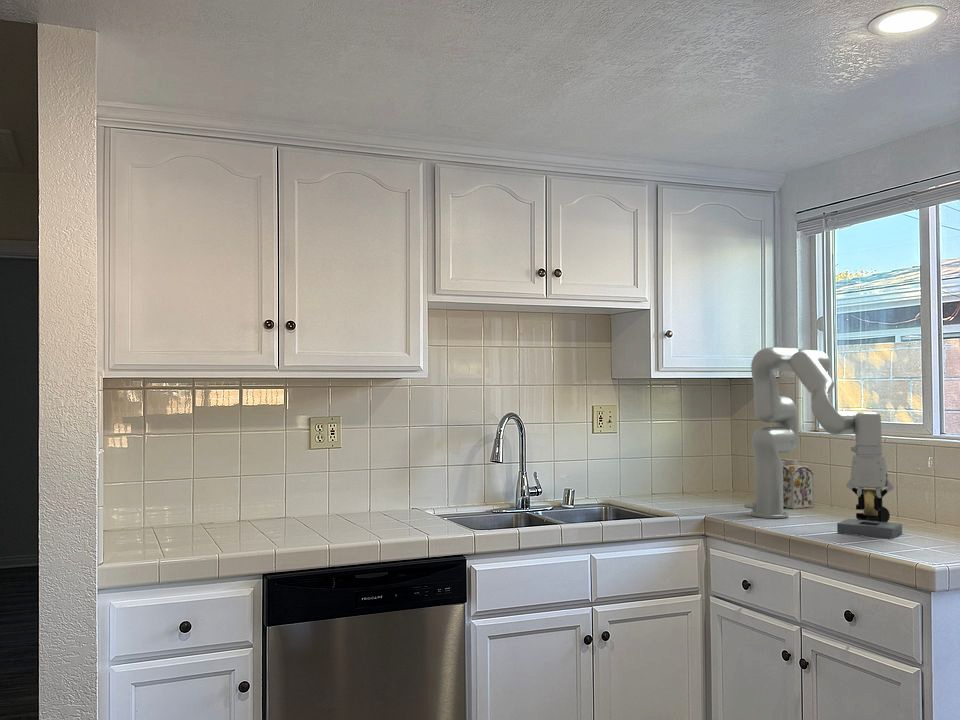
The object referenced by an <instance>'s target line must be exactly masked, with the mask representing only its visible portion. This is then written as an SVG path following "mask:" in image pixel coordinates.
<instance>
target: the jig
mask: <svg viewBox="0 0 960 720" xmlns="http://www.w3.org/2000/svg"><path fill="white" fill-rule="evenodd" d="M836 526H837V528H836V529H837V531H836V532H838V533H837V534H843V533H847V534H846V535H852V534H857V535H856V536H861V535H864V536H863V537H871V536H873V538H880V537H883V539H890V538H893V539H895V538H896V536H897V537H898V536H900V535H903V523H900V522H899V523H898V522H897V523H896V522H889V521H888V522H879V521H868V520H858V519H857V518H855V519H854V518H847V519H844V520H842V521H840V522H838V523H837V524H836ZM894 537H895V538H894Z"/></svg>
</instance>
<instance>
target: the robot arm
mask: <svg viewBox="0 0 960 720" xmlns="http://www.w3.org/2000/svg"><path fill="white" fill-rule="evenodd" d="M750 365H751V367H750V368H751V370H750V371H751V377H752V383H753V404H754V405H753V406H754V415H755V418H756V419H757V421H759V422H761V423H767V424H773V423H774V426H761V427H759V428H757V429H756V430H755V431H754V432H753V434H752V436H751V447H752V452H753V459H754V499H755V501H754V502H744V504H743V505H744V508H745V509H751V510H752V511H750V516H751V517H756V518H763V519H785V517H786V518H788V517H789V513H788V512H785V511H784V508H783V461H782V458H781V457H780V454H784V453H791V452H793V451H794V450H795V449H796V448H797V446H798V443H799V421H798V418H799V417H798V408H797V406H796V403H795V402H794V401H793V399H791V398H790V397H788V396H785V395H780V392H779V389H780V387H779V382H778V381H779V380H778V379H777V377H776V375H775V372H792V373H794V374H795V375H796V377H797V379H798V380H799V381H800V382H801V383H802V385H803V386H804V388H805V389H806V390H807V392H808V394H809V395H810V408H811V412H812V414H813V416H814V418H815V419H816V421H817V422H818V423H819V425H820V426H821V427H822V429H823V430H824V431H826V432H827V433H828V434H830V435H833V436H834V435H835V436H837V435H838V436H839V435H841V436H842V435H855V436H854V437H855V445H854V446H851V447H850V451H851V452H854V455H852V460H851V467H850V479H849V480H848V481H847V483H846V484H845V485H846V488H848V489H850V491H852V492H853V493H854V494H855V495H856V497H857V500H858V501H857V502H858V503H857V504H858V506H859V507H860V510H859V511H861V510H862V511H863V489H876V493H877V498H876V510H877V511H880V510H881V508H882V506H883V498H884V496H885V495H887V494H888V493H889V492H891V491H893V490H894V489H895V486H894V485H893V484H892V482H891V481H890V479H889V474H888V468H887V463H886V457H885V456H884V455H883V441H882V439H883V438H882V417H881V414H880V413H879V412H875V411H862V412H861V411H855V410H854V411H853V410H852V411H851V410H848V411H847V410H842V411H841V410H840V411H839V410H836V408H835V407H834V405H833V404H832V403H831V401H830V399H829V397H828V395H829V393H830V392H831V391H833V389H834V388H835V381H834V380H833V378H832V377H831V376H830V374H829V373H828V371H830V368H831V360H830V357H829V356H828V354H826V353H825V352H824V351H821V350H815V349H804V348H795V347H781V346H780V347H779V346H778V347H777V346H775V347H774V346H772V347H771V346H770V347H765V348H762V349H760V350H759V351H757V352H756V353H755V354H754V356H753V359H752V360H751V363H750ZM883 488H884V489H883Z"/></svg>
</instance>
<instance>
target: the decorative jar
mask: <svg viewBox="0 0 960 720" xmlns="http://www.w3.org/2000/svg"><path fill="white" fill-rule="evenodd" d="M782 464H783V507H786V508H785V509H788V508H793V509H792V510H795V509H794V508H800V509H806V508H805V507H811V508H815V484H814V483H815V481H814V480H815V479H814V478H815V477H814V475H815V474H814V472H813V470H812V469H811V468H810V467H809V466H808V465H806V464H800V463H799V461H798V459H790V458H785V459H784V463H783V462H782Z"/></svg>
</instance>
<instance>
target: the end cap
mask: <svg viewBox="0 0 960 720" xmlns="http://www.w3.org/2000/svg"><path fill="white" fill-rule="evenodd" d="M855 510H856V511H857V510H859V511H861V510H860V507H859V506H858V503H857V504H856V505H855ZM890 515H891V514H890V511H889V509H888V508H886V507H885V506H883V505H882V508H881V510H880V511H878V515H877V516H867V515H864V512H863V513H861V512H857V513H855V517H856V518H855V519H858V520H868V521H879V522H889V520H890V519H891V516H890Z"/></svg>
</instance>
